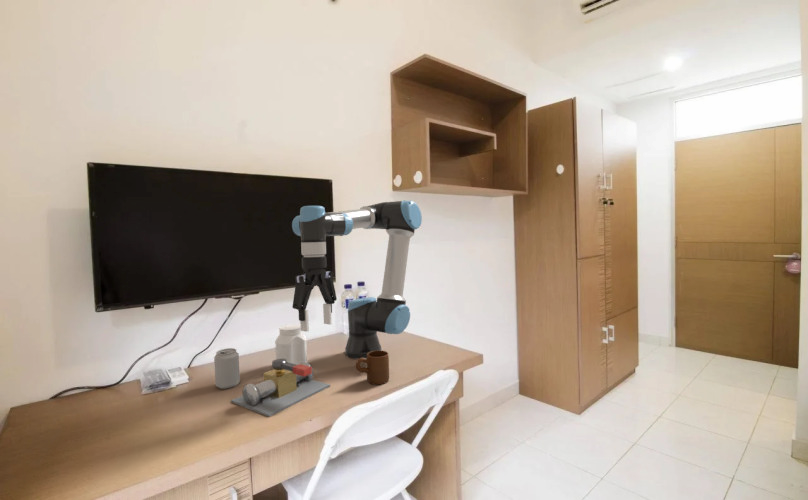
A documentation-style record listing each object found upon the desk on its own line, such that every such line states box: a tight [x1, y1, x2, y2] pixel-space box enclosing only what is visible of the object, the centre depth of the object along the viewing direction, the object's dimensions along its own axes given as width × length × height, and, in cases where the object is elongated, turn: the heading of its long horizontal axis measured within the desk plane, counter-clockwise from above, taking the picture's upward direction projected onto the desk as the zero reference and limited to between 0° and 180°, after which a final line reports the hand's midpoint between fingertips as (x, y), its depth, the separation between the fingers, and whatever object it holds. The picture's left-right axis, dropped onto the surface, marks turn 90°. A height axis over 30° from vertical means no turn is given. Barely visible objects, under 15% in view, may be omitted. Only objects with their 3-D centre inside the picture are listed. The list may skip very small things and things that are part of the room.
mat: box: [230, 378, 331, 418], centre depth 122 cm, size 24×18×1 cm
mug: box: [355, 350, 390, 386], centre depth 129 cm, size 12×8×9 cm, turn 121°
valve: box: [242, 361, 314, 406], centre depth 122 cm, size 22×7×8 cm, turn 147°
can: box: [213, 348, 241, 390], centre depth 129 cm, size 8×8×12 cm
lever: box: [271, 358, 313, 377], centre depth 119 cm, size 15×4×2 cm, turn 57°
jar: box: [274, 324, 308, 365], centre depth 147 cm, size 12×10×15 cm
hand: (316, 327), depth 120 cm, fingers open, 9 cm apart
